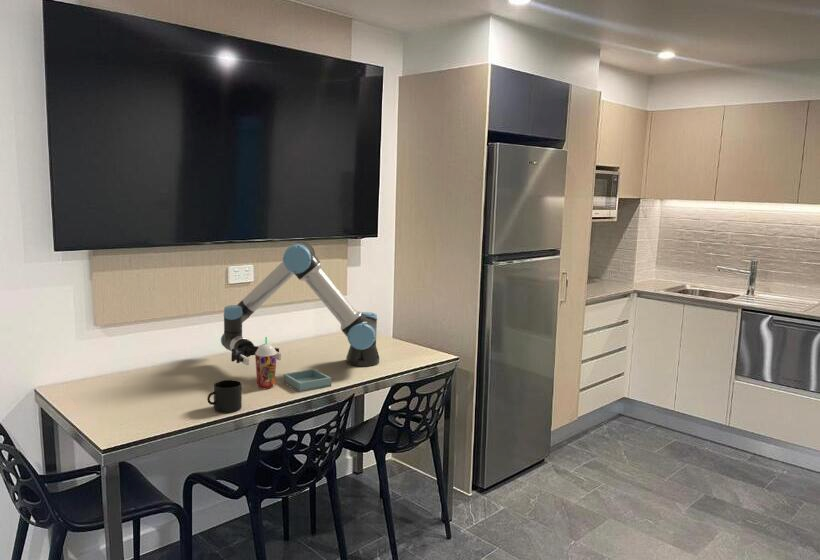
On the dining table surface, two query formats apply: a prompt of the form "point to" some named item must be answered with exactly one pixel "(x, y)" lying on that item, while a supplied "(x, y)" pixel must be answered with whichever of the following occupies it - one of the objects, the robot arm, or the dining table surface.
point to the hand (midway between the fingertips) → (264, 359)
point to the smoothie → (265, 365)
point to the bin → (307, 380)
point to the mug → (227, 396)
